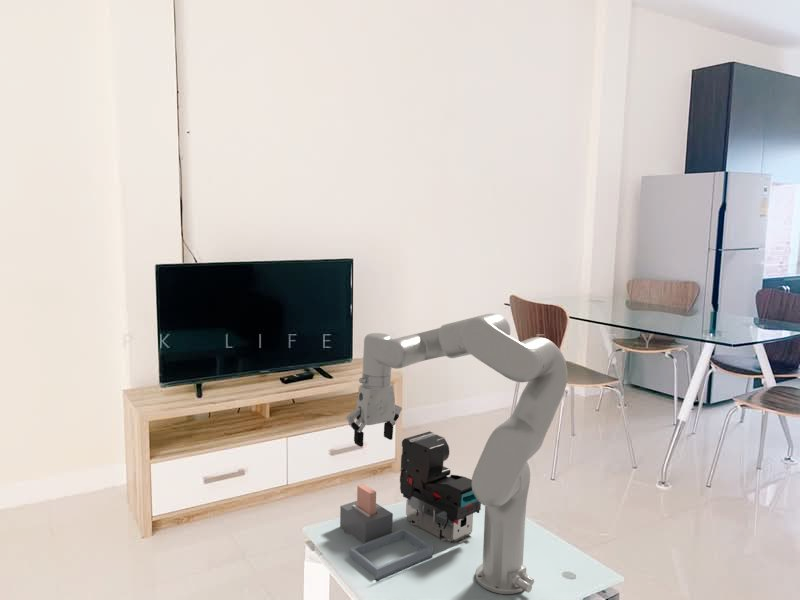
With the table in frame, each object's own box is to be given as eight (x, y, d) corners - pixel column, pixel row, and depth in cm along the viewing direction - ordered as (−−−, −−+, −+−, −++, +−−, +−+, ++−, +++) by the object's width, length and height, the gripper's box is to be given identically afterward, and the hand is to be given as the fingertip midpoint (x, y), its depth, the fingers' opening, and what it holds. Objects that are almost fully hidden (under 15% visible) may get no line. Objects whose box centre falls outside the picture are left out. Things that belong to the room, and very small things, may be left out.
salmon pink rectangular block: (375, 533, 163) (376, 491, 162) (369, 536, 162) (370, 493, 161) (362, 525, 168) (363, 484, 166) (356, 527, 167) (357, 485, 165)
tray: (432, 557, 154) (432, 546, 154) (376, 581, 143) (377, 569, 143) (403, 538, 163) (404, 528, 163) (349, 559, 152) (349, 548, 152)
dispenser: (392, 538, 163) (392, 512, 162) (365, 548, 158) (365, 521, 157) (366, 520, 173) (367, 496, 172) (340, 529, 167) (340, 504, 166)
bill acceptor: (457, 552, 157) (461, 460, 154) (397, 520, 173) (399, 437, 170) (483, 539, 164) (486, 450, 161) (422, 509, 180) (425, 429, 177)
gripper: (357, 387, 152) (354, 452, 154) (410, 379, 162) (407, 440, 165) (341, 380, 158) (338, 443, 160) (393, 372, 168) (390, 431, 170)
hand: (373, 441), depth 162 cm, fingers open, 9 cm apart
